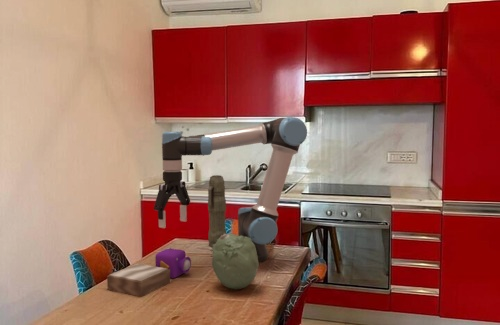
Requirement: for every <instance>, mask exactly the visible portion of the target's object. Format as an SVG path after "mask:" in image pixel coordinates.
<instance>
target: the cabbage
mask: <svg viewBox="0 0 500 325" xmlns="http://www.w3.org/2000/svg"><path fill="white" fill-rule="evenodd" d="M212 246H213V247H211V248H212V249H210V250H209V252H211V253H212V255H210V257H211V259H212V260H211V267H212V269H213V272H214V274H215V276H216V277H217V279H218V281H219V283H220V284H222V285H223V286H225V287H226V288H228V289H231V290H242V289H245V288H247V287H248V286H249V285H250V284H252V282H253V281H254V280H255V279H256V276H257V271H258V268H259V265H260V264H259V263H260V262H258V256H257V251H256V248H255V245H254V244H253V242H252V240H251V239H250V238H249V237H246V236H245V237H244V236H242V235H241V236H238V234H234V233H226V234H222V235H221V237H220V238H219V239H217V242H216V243H215V245H212Z"/></svg>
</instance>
